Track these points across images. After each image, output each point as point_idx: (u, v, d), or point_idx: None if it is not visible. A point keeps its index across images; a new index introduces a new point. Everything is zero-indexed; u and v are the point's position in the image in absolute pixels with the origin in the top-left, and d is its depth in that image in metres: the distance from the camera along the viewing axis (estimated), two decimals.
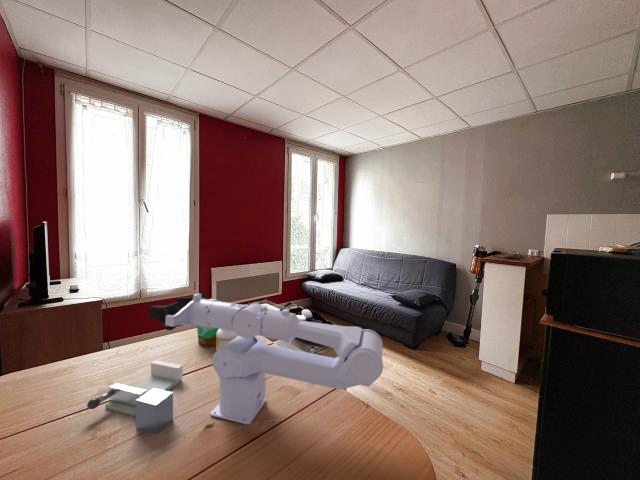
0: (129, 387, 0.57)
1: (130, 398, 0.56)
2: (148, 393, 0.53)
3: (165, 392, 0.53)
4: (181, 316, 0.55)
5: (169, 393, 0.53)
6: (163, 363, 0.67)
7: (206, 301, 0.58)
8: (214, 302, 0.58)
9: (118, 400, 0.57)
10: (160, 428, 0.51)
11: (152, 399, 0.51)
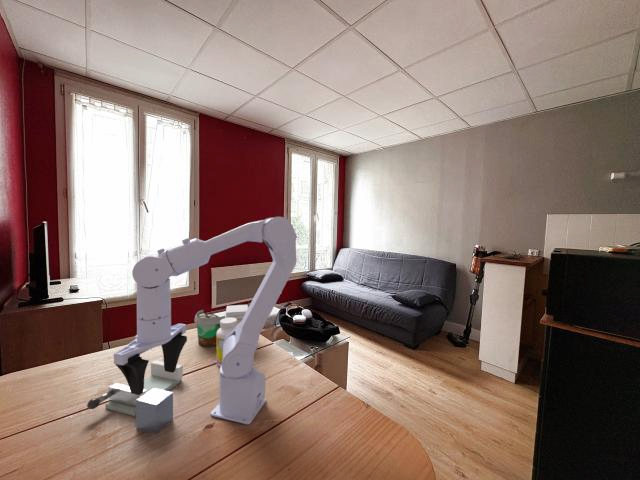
0: None
1: (130, 398, 0.56)
2: (148, 393, 0.53)
3: (165, 392, 0.53)
4: (130, 348, 0.47)
5: (169, 393, 0.53)
6: (163, 363, 0.67)
7: None
8: None
9: (118, 400, 0.57)
10: (160, 428, 0.51)
11: (152, 399, 0.51)
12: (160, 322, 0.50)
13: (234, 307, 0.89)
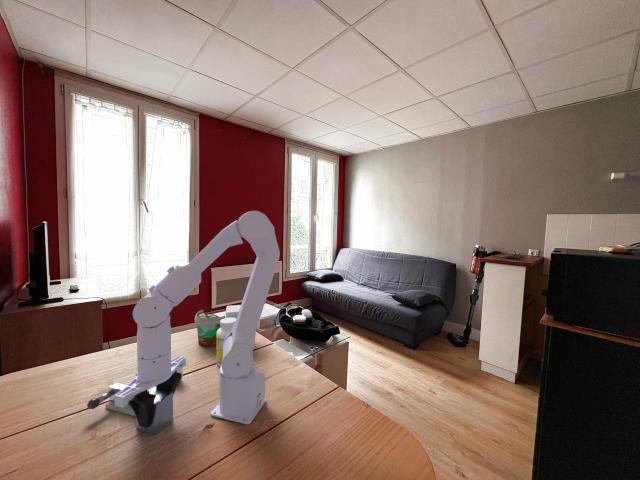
0: None
1: None
2: None
3: (165, 392, 0.53)
4: (130, 388, 0.47)
5: (169, 393, 0.53)
6: None
7: None
8: None
9: None
10: (160, 428, 0.51)
11: None
12: (160, 360, 0.50)
13: (234, 307, 0.89)
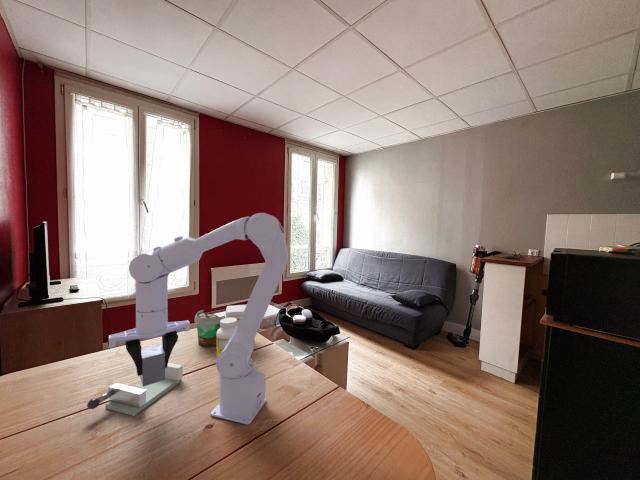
0: (129, 387, 0.57)
1: (130, 398, 0.56)
2: (152, 347, 0.58)
3: (161, 350, 0.56)
4: (124, 334, 0.53)
5: (162, 352, 0.55)
6: None
7: None
8: None
9: (118, 400, 0.57)
10: (147, 382, 0.54)
11: (147, 353, 0.55)
12: (147, 316, 0.53)
13: (234, 307, 0.89)
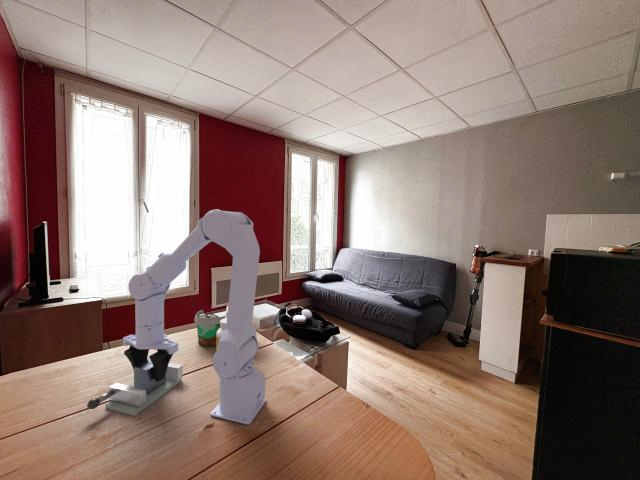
0: (129, 387, 0.57)
1: (130, 398, 0.56)
2: None
3: (151, 366, 0.61)
4: None
5: (147, 368, 0.60)
6: None
7: None
8: None
9: (118, 400, 0.57)
10: None
11: (145, 363, 0.62)
12: (136, 329, 0.60)
13: None
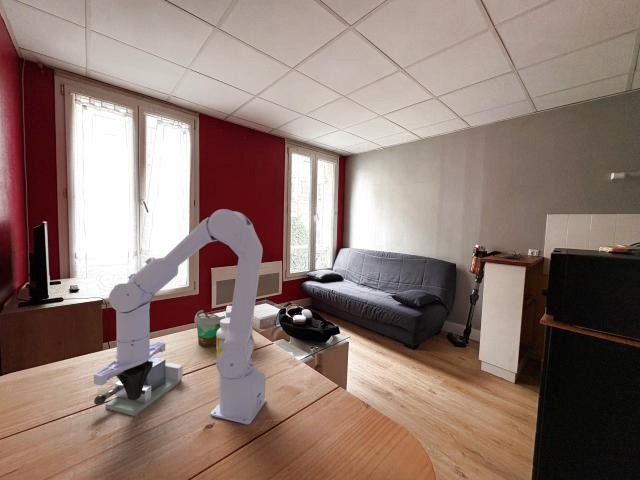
0: None
1: None
2: (157, 359, 0.64)
3: None
4: (109, 368, 0.51)
5: None
6: None
7: None
8: None
9: (124, 396, 0.58)
10: None
11: None
12: (138, 343, 0.54)
13: None
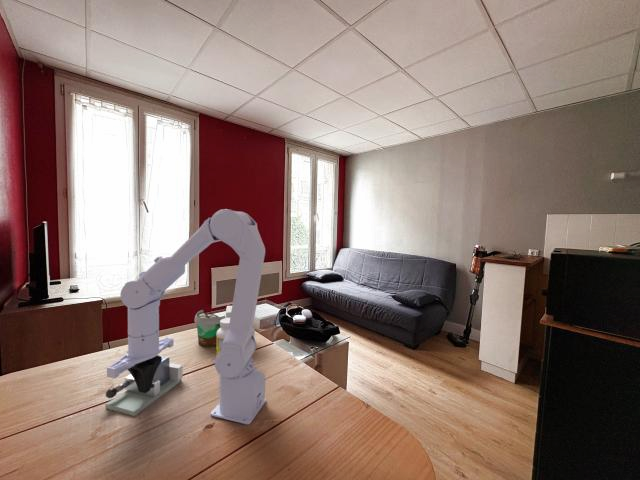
0: None
1: None
2: (162, 357, 0.65)
3: None
4: (121, 362, 0.53)
5: None
6: None
7: None
8: None
9: (134, 390, 0.60)
10: None
11: None
12: (149, 339, 0.56)
13: None
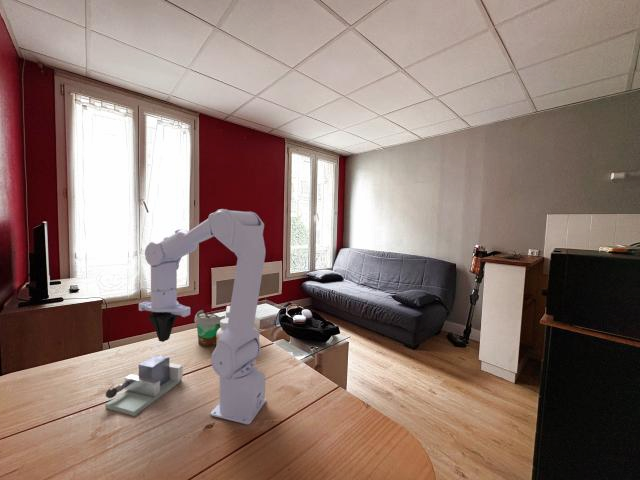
0: (144, 378, 0.61)
1: (145, 388, 0.59)
2: (162, 357, 0.65)
3: (155, 363, 0.62)
4: None
5: (152, 366, 0.61)
6: None
7: None
8: None
9: (134, 390, 0.60)
10: None
11: (149, 360, 0.63)
12: (151, 293, 0.64)
13: None
